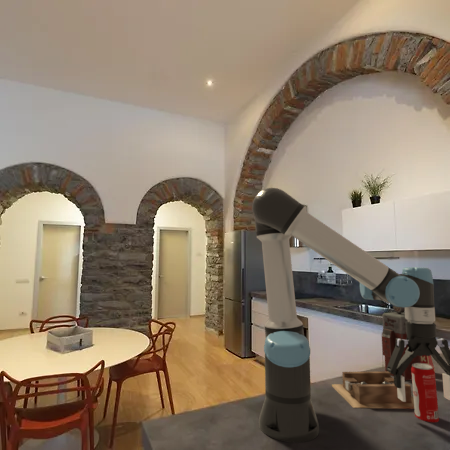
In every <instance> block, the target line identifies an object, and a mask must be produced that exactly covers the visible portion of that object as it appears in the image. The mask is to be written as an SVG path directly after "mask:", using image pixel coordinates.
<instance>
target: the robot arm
mask: <svg viewBox="0 0 450 450" xmlns="http://www.w3.org/2000/svg"><path fill="white" fill-rule="evenodd" d="M251 208H252V209H251V211H252V215H253V217H254V223H255V224H254V226H255V236H256V239H257V240H259V241H260V242H261V249H262V259H263V260H262V261H263V270H264V271H263V272H264V281H265V292H266V300H267V301H266V303H267V311H268V313H267V314H268V315H267V316H268V320H267V321H266V322H265V323H264V333H265V334H264V336H265V340H264V346H263V352H264V376H265V377H264V382H265V383H264V389H265V390H264V391H265V392H264V393H265V398H264V400H263V404H262V407H261V410H260V413H259V418H258V427H259V429H260V431H261V432H262V433H263V434H265V435H266V436H268V437H270V438H272V439H274V440H278V441H281V442H286V443H306V442H310V441H313V440H314V439H316V438H317V437H318V435H319V434H320V426H319V425H320V424H319V420H318V417H317V414H316V412H315V409H314V406H313V403H312V393H311V391H312V389H311V358H310V356H311V347H310V342H309V339H308V338H307V337H306V336H305V333H304V324H303V322H302V321H301V319H299V317H298V315H297V304H296V296H295V295H296V294H295V287H294V285H295V284H294V275H293V267H292V266H293V265H292V258H291V257H292V256H291V246H290V245H291V244H290V239H291V238H292V237H293V238H294V239H296V240H297V241H299V242H301V243H302V244H304V245H305V246H306V247H308V248H310V250H312V251H314V252H315V253H317V254H318V255H320V256H321V257H322V258H324V259H325V260H327V261H329V262H330V263H331V264H332V265H334V266H335V267H337V268H338V269H340V270H342V271H343V272H344V273H346V274H347V275H349V276H350V277H351V278H353V279H354V280H355V281H356V282H358V283H359V292H360V295H361V297H362V298H363V299H364V300H371V301H375V300H377V301H378V300H379V301H381V302H382V301H383V302H384V303H388V304H390V305H392V306H393V305H394V306H396V307H405V312H404V313H405V319H407V320H408V321H406V322H405V323H406V334H407V339H406V340H403V339H399V338H396V345H395V348H394V351H393V353H392V356H391V358H390V361H389V363H388V366H387V368H386V370H387V371H388V372H390V373H391V374H393V375H394V376H393V378H394V385H395V387H397V395H398V398H399V399H400V400H401V401H403V402H406V397H405V384H406V382H405V380H404V377H403V376H402V374H403V372H404V371H405V370H406V368H407V367H408V365H409V364H410V363H411V361H412V360H413V358H415V357H416V356H417V355H418V356H423V355H426V356H430V355H431V358H432V359H433V360H434V361H435V362H436V363H437V364H438V366H439V367H440V368H441V369H442V371H444V372H443V373H441V374H442V388H443V398H445V399H447V400H448V401H450V348H449V341H448V340H447V339H445V338H442V337H438V338H436V337H437V334H438V333H437V325H436V323H435V322H436V309H435V308H436V307H435V297H434V296H435V294H434V291H435V289H434V279H433V273H432V270H431V269H430V268H429V267H417V266H416V267H412V266H411V267H403V268H402V272H401V273H398V272H397V271H395V270H393V269H391V268H390V267H389V266H388V265H386V264H384V263H383V262H382V261H380V260H379V259H377V258H376V257H374V256H373V255H371V254H370V253H368V252H367V251H365V250H363V249H362V248H361V247H359V246H358V245H357V244H355V243H353V242H352V241H350V240H349V239H347V238H346V237H345V236H343V235H342V234H340V233H339V232H338V231H336V230H334V229H332V228H331V227H330V226H328V225H327V224H326V223H324V222H322V221H320V220H319V219H318V218H316V217H315V216H313V215H312V214H310V213H308V211H307V207H306V206H305V205H303V204H302V203H300V202H299V201H298V200H297V199H295V198H294V197H293V196H291V195H290V194H289V193H288V192H286V191H284V190H283V189H281V188H275V187H267V188H265V189H262V190H260V191H259V192H258V193H257V194H256V195H255V197H254V199H253V201H252V205H251ZM406 345H408V348H407V349H406V351H405V354H404V355H403V357H402V358H401V356H402V354H403V351H404V347H406ZM437 346H438V347H439V350H440V351H441V353H442V355H443V356H441V354H440V353H439V352H438V350H437V349H436V348H437ZM411 352H412V353H411ZM443 357H444V358H443ZM400 359H401V360H400ZM444 359H445V360H444Z"/></svg>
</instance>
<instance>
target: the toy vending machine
mask: <svg viewBox="0 0 450 450" xmlns="http://www.w3.org/2000/svg"><path fill="white" fill-rule="evenodd" d="M392 309H393V311H394V312H393V311H391V312H384V313H383V314H382V332H381V347H382V349H381V350H382V356H384V371H387V370H386V368H387V366H388V363H389V361H390V358H391V356H392V353H393V351H394V348H395V345H396V338H399V339H403V340H406V339H407V334H406V323H405V322H406V321H408V320H407V319H405V307H396V306H394V305H392ZM407 348H408V345H406V347H404V351H403V354H402V356H401V358H402V357H403V355H404V354H405V351H406V349H407ZM411 353H412V352H411ZM400 360H401V359H400ZM413 363H421V361H420V356H418V355H417V356H416V357H415V358H413V360H412V361H411V363H410V364H409V365H408V367H407V368H406V370H405V371H404V372H403V374H402V376H403V377H404V380H405V381H412V374H411V368H412V364H413ZM391 377H394V375H393V374H391Z"/></svg>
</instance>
